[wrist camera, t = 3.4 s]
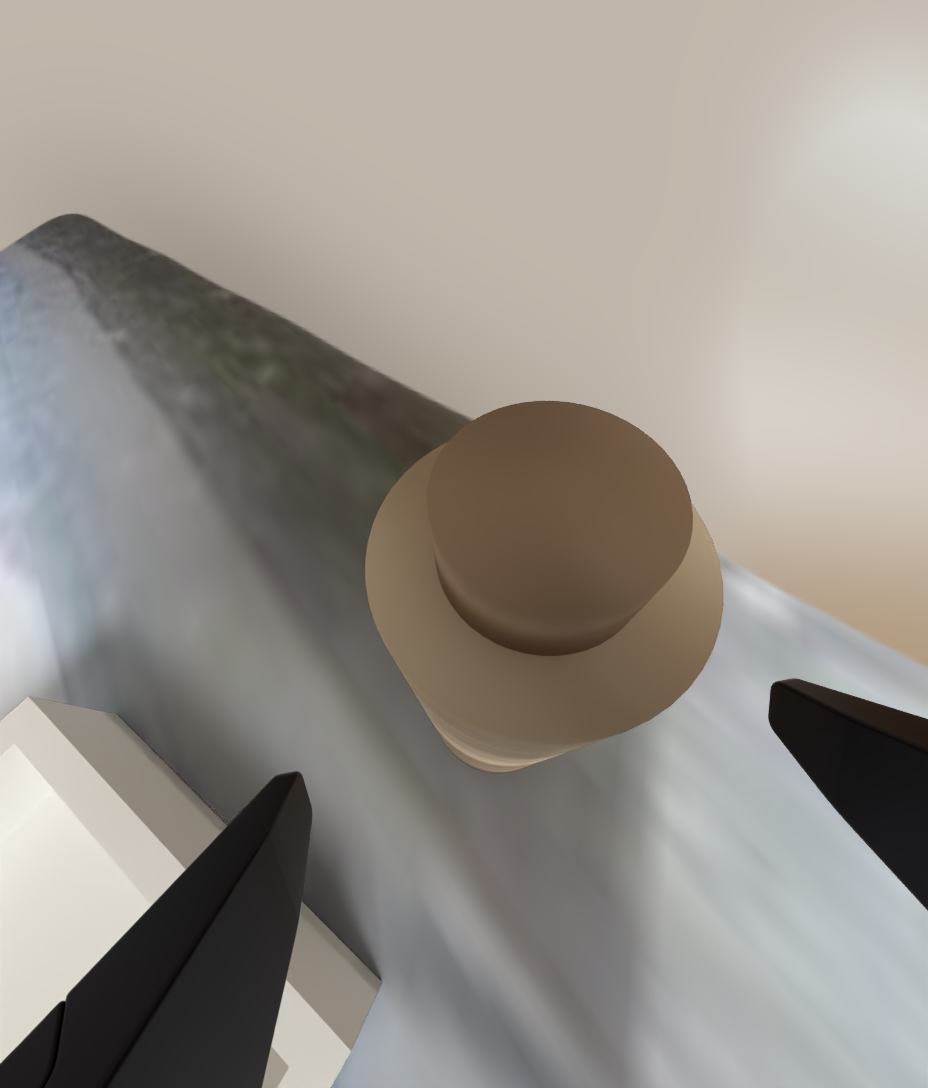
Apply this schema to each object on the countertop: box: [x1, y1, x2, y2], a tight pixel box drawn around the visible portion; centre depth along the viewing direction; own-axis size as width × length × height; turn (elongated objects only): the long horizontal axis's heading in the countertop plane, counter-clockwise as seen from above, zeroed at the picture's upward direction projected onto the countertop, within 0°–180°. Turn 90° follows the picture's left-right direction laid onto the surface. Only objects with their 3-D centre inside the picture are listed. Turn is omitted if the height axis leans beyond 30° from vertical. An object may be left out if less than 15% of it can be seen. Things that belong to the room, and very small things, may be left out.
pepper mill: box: [365, 401, 723, 773], centre depth 11 cm, size 5×5×14 cm
